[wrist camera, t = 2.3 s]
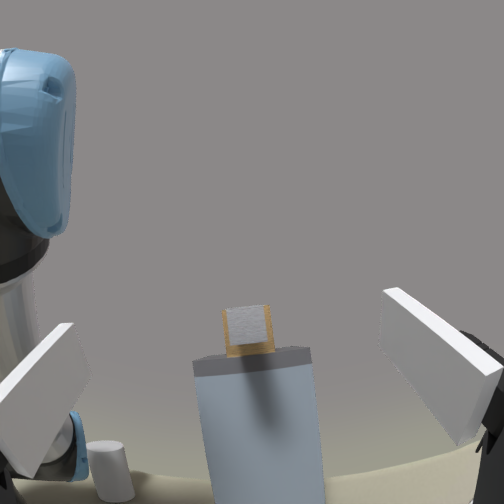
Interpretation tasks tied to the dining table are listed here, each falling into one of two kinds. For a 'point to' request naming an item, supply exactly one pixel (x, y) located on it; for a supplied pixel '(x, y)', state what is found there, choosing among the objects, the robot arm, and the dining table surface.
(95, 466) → the white cylinder
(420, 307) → the robot arm
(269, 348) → the block
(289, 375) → the block
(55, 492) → the dining table surface
